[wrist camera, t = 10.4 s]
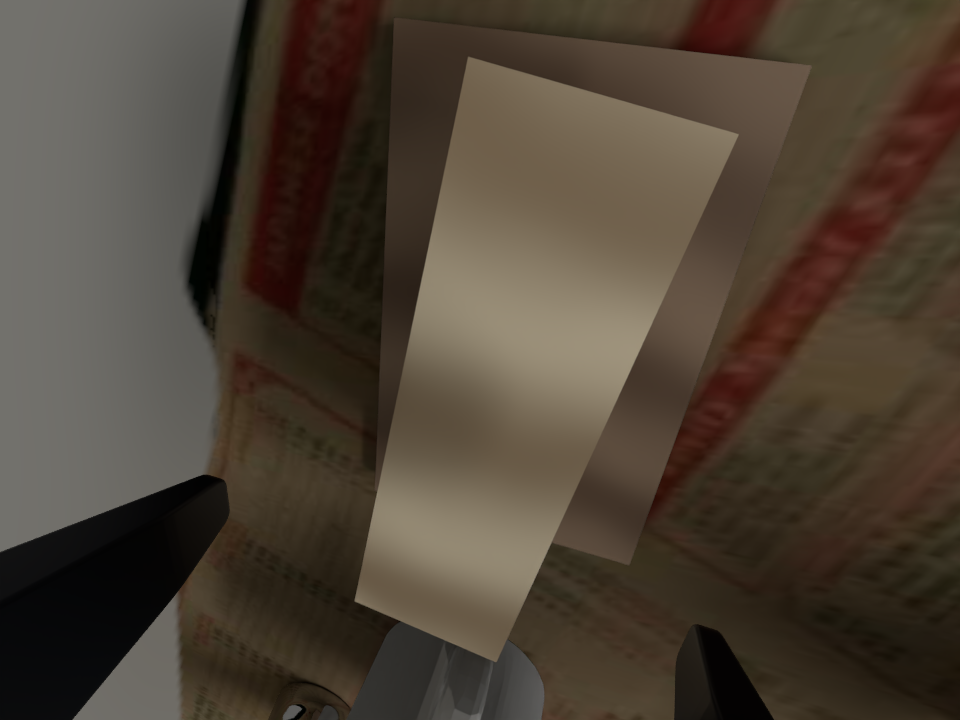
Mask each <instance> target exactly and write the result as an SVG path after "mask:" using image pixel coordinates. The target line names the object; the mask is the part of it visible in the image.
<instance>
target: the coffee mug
mask: <svg viewBox="0 0 960 720" xmlns="http://www.w3.org/2000/svg"><path fill="white" fill-rule="evenodd" d="M543 704H544V687H543V683H542V680H541V678H540V675H539V673H538V671H537V670H536V668H535V666H534V665H533V664H532V662H531V661H530V660H529V659H528V657H527V656H526V655H525V654H524V653H523V652H522V651H521V650H520V649H519V648H518V647H517V646H516V645H514V644H513V643H512V642H510V641H509V640H506V643H505V645H504V647H503V649H502V651H501V653H500V656H499V658H498V660H497V662H494V661H492V660H489V659H487V658H485V657H482V656H480V655H478V654H475V653H473V652H471V651H469V650H466V649H464V648H462V647H459V646H457V645H455V644H452V643H450V642H448V641H445V640H443V639H441V638H438V637H436V636H434V635H432V634H429V633H427V632H425V631H422V630H420V629H418V628H415V627H413V626H411V625H408V624H406V623H404V622H399V623H397V624H396V625H395V626H394V627H393V628H392V629H391V630H390V631H389V632H388V633H387V635H386V637H385V639H384V641H383V643H382V645H381V648H380V650H379V652H378V654H377V656H376V658H375V660H374V662H373V664H372V667H371V669H370V671H369V673H368V675H367V677H366V679H365V681H364V683H363V686H362V688H361V690H360V692H359V694H358V696H357V698H356V700H355V702H354V705H353V707H352V709H351V711H350V713H349V715H348V717H347V719H346V720H541V717H542V710H543Z"/></svg>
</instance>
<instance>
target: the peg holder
mask: <svg viewBox="0 0 960 720" xmlns="http://www.w3.org/2000/svg"><path fill="white" fill-rule="evenodd" d="M468 57H471V58H475V59H478V60H482V61H485V62H489V63H492V64H496V65H499V66H503V67H506V68H510V69H513V70H517V71H520V72H523V73H527V74H530V75H534V76H537V77H541V78H544V79H548V80H551V81H555V82H558V83H562V84H565V85H569V86H572V87H576V88H579V89H583V90H586V91H590V92H593V93H597V94H600V95H604V96H607V97H611V98H614V99H618V100H621V101H625V102H628V103H632V104H635V105H639V106H642V107H646V108H649V109H652V110H656V111H659V112H663V113H666V114H670V115H673V116H677V117H680V118H684V119H687V120H691V121H694V122H698V123H701V124H705V125H708V126H712V127H715V128H719V129H722V130H726V131H729V132H733V133H736V134H739V135H738V137H737V140H736V142H735V144H734V146H733V148H732V151H731V153H730V155H729V157H728V159H727V161H726V164H725V166H724V168H723V170H722V172H721V175H720V177H719V179H718V181H717V183H716V185H715V188H714V190H713V192H712V194H711V196H710V198H709V201H708V203H707V205H706V207H705V209H704V212H703V214H702V216H701V218H700V220H699V222H698V225H697V227H696V229H695V231H694V233H693V235H692V238H691V240H690V242H689V244H688V246H687V249H686V251H685V253H684V255H683V257H682V259H681V262H680V264H679V266H678V268H677V270H676V272H675V275H674V277H673V279H672V281H671V283H670V286H669V288H668V290H667V292H666V294H665V296H664V299H663V301H662V303H661V305H660V307H659V309H658V312H657V314H656V316H655V318H654V320H653V323H652V325H651V327H650V329H649V331H648V333H647V336H646V338H645V340H644V342H643V344H642V346H641V349H640V351H639V353H638V355H637V357H636V360H635V362H634V364H633V366H632V368H631V370H630V373H629V375H628V377H627V379H626V381H625V384H624V386H623V388H622V390H621V392H620V394H619V397H618V399H617V401H616V403H615V405H614V407H613V410H612V412H611V414H610V416H609V418H608V421H607V423H606V425H605V427H604V429H603V431H602V434H601V436H600V438H599V440H598V442H597V444H596V447H595V449H594V451H593V453H592V455H591V458H590V460H589V462H588V464H587V466H586V468H585V471H584V473H583V475H582V477H581V479H580V481H579V484H578V486H577V488H576V490H575V492H574V495H573V497H572V499H571V501H570V503H569V505H568V508H567V510H566V512H565V514H564V516H563V518H562V521H561V523H560V525H559V527H558V529H557V532H556V534H555V536H554V538H553V540H552V542H551V543H555V544H558V545H562V546H565V547H568V548H572V549H575V550H579V551H582V552H585V553H589V554H592V555H596V556H599V557H603V558H606V559H609V560H613V561H616V562H620V563H623V564H626V565H630V562H631V560H632V557H633V554H634V551H635V549H636V546H637V543H638V540H639V538H640V535H641V532H642V529H643V527H644V524H645V521H646V519H647V516H648V513H649V510H650V508H651V505H652V502H653V499H654V497H655V494H656V491H657V488H658V486H659V483H660V480H661V477H662V475H663V472H664V469H665V467H666V464H667V461H668V458H669V456H670V453H671V450H672V447H673V445H674V442H675V439H676V436H677V434H678V431H679V428H680V425H681V423H682V420H683V417H684V415H685V412H686V409H687V406H688V404H689V401H690V398H691V395H692V393H693V390H694V387H695V384H696V382H697V379H698V376H699V373H700V371H701V368H702V365H703V362H704V360H705V357H706V354H707V352H708V349H709V346H710V343H711V341H712V338H713V335H714V332H715V330H716V327H717V324H718V321H719V319H720V316H721V313H722V310H723V308H724V305H725V302H726V300H727V297H728V294H729V291H730V289H731V286H732V283H733V280H734V278H735V275H736V272H737V269H738V267H739V264H740V261H741V258H742V256H743V253H744V250H745V248H746V245H747V242H748V239H749V237H750V234H751V231H752V228H753V226H754V223H755V220H756V217H757V215H758V212H759V209H760V206H761V204H762V201H763V198H764V196H765V193H766V190H767V187H768V185H769V182H770V179H771V176H772V174H773V171H774V168H775V165H776V163H777V160H778V157H779V154H780V152H781V149H782V146H783V144H784V141H785V138H786V135H787V133H788V130H789V127H790V124H791V122H792V119H793V116H794V113H795V111H796V108H797V105H798V102H799V100H800V97H801V94H802V92H803V89H804V86H805V83H806V81H807V78H808V75H809V72H810V70H811V67H812V66H811V65H802V64H794V63H785V62H776V61H768V60H759V59H750V58H742V57H733V56H724V55H716V54H707V53H698V52H690V51H681V50H672V49H664V48H655V47H647V46H638V45H629V44H621V43H612V42H603V41H595V40H586V39H577V38H569V37H560V36H551V35H543V34H534V33H525V32H517V31H508V30H499V29H491V28H482V27H473V26H465V25H456V24H447V23H439V22H430V21H421V20H413V19H404V18H395V17H394V30H393V55H392V80H391V104H390V129H389V154H388V178H387V203H386V228H385V252H384V277H383V302H382V326H381V351H380V376H379V400H378V425H377V450H376V474H375V491H378V487H379V482H380V477H381V472H382V467H383V463H384V458H385V453H386V448H387V443H388V439H389V434H390V429H391V424H392V419H393V415H394V410H395V405H396V400H397V396H398V391H399V386H400V381H401V376H402V372H403V367H404V362H405V357H406V352H407V348H408V343H409V338H410V333H411V328H412V324H413V319H414V314H415V309H416V304H417V300H418V295H419V290H420V285H421V280H422V276H423V271H424V266H425V261H426V257H427V252H428V247H429V242H430V237H431V233H432V228H433V223H434V218H435V213H436V209H437V204H438V199H439V194H440V189H441V185H442V180H443V175H444V170H445V165H446V161H447V156H448V151H449V146H450V142H451V137H452V132H453V127H454V122H455V118H456V113H457V108H458V103H459V98H460V94H461V89H462V84H463V79H464V74H465V70H466V65H467V60H468Z"/></svg>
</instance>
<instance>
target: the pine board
mask: <svg viewBox="0 0 960 720" xmlns="http://www.w3.org/2000/svg"><path fill="white" fill-rule="evenodd" d="M738 135H739V134H736V133H733V132H729V131H726V130H722V129H719V128H715V127H712V126H708V125H705V124H701V123H698V122H694V121H691V120H687V119H684V118H680V117H677V116H673V115H670V114H666V113H663V112H659V111H656V110H652V109H649V108H646V107H642V106H639V105H635V104H632V103H628V102H625V101H621V100H618V99H614V98H611V97H607V96H604V95H600V94H597V93H593V92H590V91H586V90H583V89H579V88H576V87H572V86H569V85H565V84H562V83H558V82H555V81H551V80H548V79H544V78H541V77H537V76H534V75H530V74H527V73H523V72H520V71H517V70H513V69H510V68H506V67H503V66H499V65H496V64H492V63H489V62H485V61H482V60H478V59H475V58H471V57H468V60H467V65H466V70H465V74H464V79H463V84H462V89H461V94H460V98H459V103H458V108H457V113H456V118H455V122H454V127H453V132H452V137H451V142H450V146H449V151H448V156H447V161H446V165H445V170H444V175H443V180H442V185H441V189H440V194H439V199H438V204H437V209H436V213H435V218H434V223H433V228H432V233H431V237H430V242H429V247H428V252H427V257H426V261H425V266H424V271H423V276H422V280H421V285H420V290H419V295H418V300H417V304H416V309H415V314H414V319H413V324H412V328H411V333H410V338H409V343H408V348H407V352H406V357H405V362H404V367H403V372H402V376H401V381H400V386H399V391H398V396H397V400H396V405H395V410H394V415H393V419H392V424H391V429H390V434H389V439H388V443H387V448H386V453H385V458H384V463H383V467H382V472H381V477H380V482H379V487H378V491H377V496H376V501H375V506H374V511H373V515H372V520H371V525H370V530H369V534H368V539H367V544H366V549H365V554H364V558H363V563H362V568H361V573H360V578H359V582H358V587H357V592H356V597H355V602H358V603H360V604H362V605H364V606H367V607H369V608H371V609H374V610H376V611H378V612H381V613H383V614H385V615H388V616H390V617H392V618H395V619H397V620H399V621H401V622H404V623H406V624H408V625H411V626H413V627H415V628H418V629H420V630H422V631H425V632H427V633H429V634H432V635H434V636H436V637H438V638H441V639H443V640H445V641H448V642H450V643H452V644H455V645H457V646H459V647H462V648H464V649H466V650H469V651H471V652H473V653H475V654H478V655H480V656H482V657H485V658H487V659H489V660H492V661H494V662H497V660H498V658H499V656H500V653H501V651H502V649H503V647H504V645H505V643H506V640H507V638H508V636H509V634H510V632H511V630H512V627H513V625H514V623H515V621H516V619H517V616H518V614H519V612H520V610H521V608H522V606H523V603H524V601H525V599H526V597H527V595H528V593H529V590H530V588H531V586H532V584H533V582H534V579H535V577H536V575H537V573H538V571H539V569H540V566H541V564H542V562H543V560H544V558H545V555H546V553H547V551H548V549H549V547H550V545H551V542H552V540H553V538H554V536H555V534H556V532H557V529H558V527H559V525H560V523H561V521H562V518H563V516H564V514H565V512H566V510H567V508H568V505H569V503H570V501H571V499H572V497H573V495H574V492H575V490H576V488H577V486H578V484H579V481H580V479H581V477H582V475H583V473H584V471H585V468H586V466H587V464H588V462H589V460H590V458H591V455H592V453H593V451H594V449H595V447H596V444H597V442H598V440H599V438H600V436H601V434H602V431H603V429H604V427H605V425H606V423H607V421H608V418H609V416H610V414H611V412H612V410H613V407H614V405H615V403H616V401H617V399H618V397H619V394H620V392H621V390H622V388H623V386H624V384H625V381H626V379H627V377H628V375H629V373H630V370H631V368H632V366H633V364H634V362H635V360H636V357H637V355H638V353H639V351H640V349H641V346H642V344H643V342H644V340H645V338H646V336H647V333H648V331H649V329H650V327H651V325H652V323H653V320H654V318H655V316H656V314H657V312H658V309H659V307H660V305H661V303H662V301H663V299H664V296H665V294H666V292H667V290H668V288H669V286H670V283H671V281H672V279H673V277H674V275H675V272H676V270H677V268H678V266H679V264H680V262H681V259H682V257H683V255H684V253H685V251H686V249H687V246H688V244H689V242H690V240H691V238H692V235H693V233H694V231H695V229H696V227H697V225H698V222H699V220H700V218H701V216H702V214H703V212H704V209H705V207H706V205H707V203H708V201H709V198H710V196H711V194H712V192H713V190H714V188H715V185H716V183H717V181H718V179H719V177H720V175H721V172H722V170H723V168H724V166H725V164H726V161H727V159H728V157H729V155H730V153H731V151H732V148H733V146H734V144H735V142H736V140H737V137H738Z"/></svg>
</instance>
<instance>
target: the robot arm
mask: <svg viewBox="0 0 960 720" xmlns="http://www.w3.org/2000/svg"><path fill="white" fill-rule="evenodd" d="M229 511H230V509H229V501H228V493H227V486H226V483H225V481H224V480H223V479H220V478H217V477H214V476H211V475H201V476H198V477H196V478H193V479H190V480H188V481H185V482H182V483H180V484H177V485H175V486H172V487H169V488H167V489H164V490H161V491H159V492H156V493H154V494H151V495H148V496H146V497H144V498H140V499H138V500H135V501H133V502H130V503H127V504H125V505H123V506H120V507H117V508H114V509H112V510H109V511H106V512H104V513H101V514H99V515H96V516H93V517H91V518H88V519H86V520H83V521H80V522H78V523H75V524H72V525H70V526H67V527H65V528H62V529H59V530H57V531H54V532H52V533H49V534H46V535H44V536H41V537H39V538H36V539H33V540H31V541H28V542H25V543H23V544H20V545H17V546H15V547H12V548H10V549H7V550H4V551H2V552H0V720H72V719H73V718H74V717H75V716H76V715H77V713H78V712H79V711H80V710H81V709H82V707H83V706H84V705H85V704H86V703H87V701H88V700H89V699H90V698H91V697H92V695H93V694H94V693H95V692H96V690H97V689H98V688H99V687H100V686H101V684H102V683H103V682H104V681H105V680H106V678H107V677H108V676H109V675H110V674H111V672H112V671H113V670H114V669H115V667H116V666H117V665H118V664H119V663H120V661H121V660H122V659H123V658H124V656H125V655H126V654H127V653H128V652H129V651H130V649H131V648H132V647H133V646H134V645H135V643H136V642H137V641H138V640H139V638H140V637H141V636H142V635H143V633H144V632H145V631H146V630H147V629H148V627H149V626H150V625H151V624H152V623H153V622H154V620H155V619H156V618H157V617H158V615H159V614H160V613H161V612H162V611H163V609H164V608H165V607H166V606H167V605H168V603H169V602H170V601H171V600H172V598H173V597H174V596H175V595H176V593H177V592H178V591H179V589H180V588H181V587H182V585H183V584H184V583H185V581H186V580H187V578H188V577H189V575H190V574H191V573H192V571H193V570H194V568H195V567H196V565H197V564H198V562H199V561H200V559H201V558H202V556H203V555H204V554H205V552H206V551H207V549H208V548H209V546H210V545H211V543H212V542H213V540H214V539H215V537H216V536H217V534H218V533H219V532H220V530H221V529H222V527H223V526H224V524H225V523H226V521H227V519H228V516H229ZM674 720H774V719H773V717H772V716H771V714H770V712H769V711H768V709H767V707H766V706H765V704H764V702H763V701H762V699H761V698H760V696H759V694H758V693H757V691H756V689H755V688H754V686H753V685H752V683H751V681H750V680H749V678H748V676H747V675H746V673H745V672H744V670H743V668H742V667H741V665H740V663H739V662H738V660H737V658H736V657H735V655H734V654H733V652H732V650H731V649H730V647H729V645H728V644H727V642H726V641H725V639H724V637H723V636H722V635H721V633H720V632H718V631H717V630H715V629H711V628H708V627H705V626H702V625H698V624H695V625H693V626H692V627H691V628H690V630H689V632H688V634H687V636H686V638H685V640H684V642H683V644H682V647H681V649H680V651H679V653H678V656H677V661H676V675H675V714H674Z"/></svg>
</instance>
